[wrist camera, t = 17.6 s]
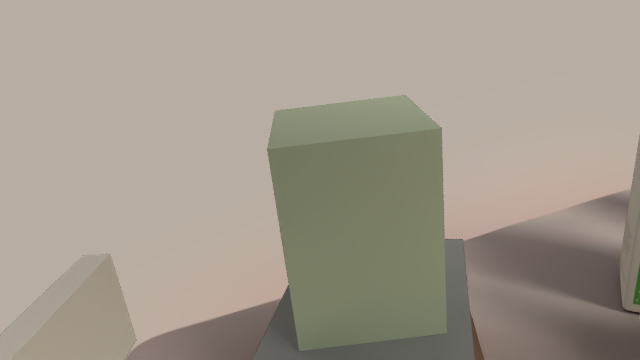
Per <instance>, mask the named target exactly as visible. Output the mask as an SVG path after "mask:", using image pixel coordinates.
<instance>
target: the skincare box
mask: <svg viewBox="0 0 640 360" xmlns="http://www.w3.org/2000/svg"><path fill="white" fill-rule="evenodd" d="M619 271H620V284H621V296H622V306H623V308H624V309H625V310H628V311H633V312H639V313H640V136H639V142H638V149H637V155H636V161H635V168H634V174H633V181H632V187H631V193H630V200H629V206H628V213H627V219H626V226H625V232H624V238H623V244H622V250H621V257H620V263H619Z"/></svg>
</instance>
